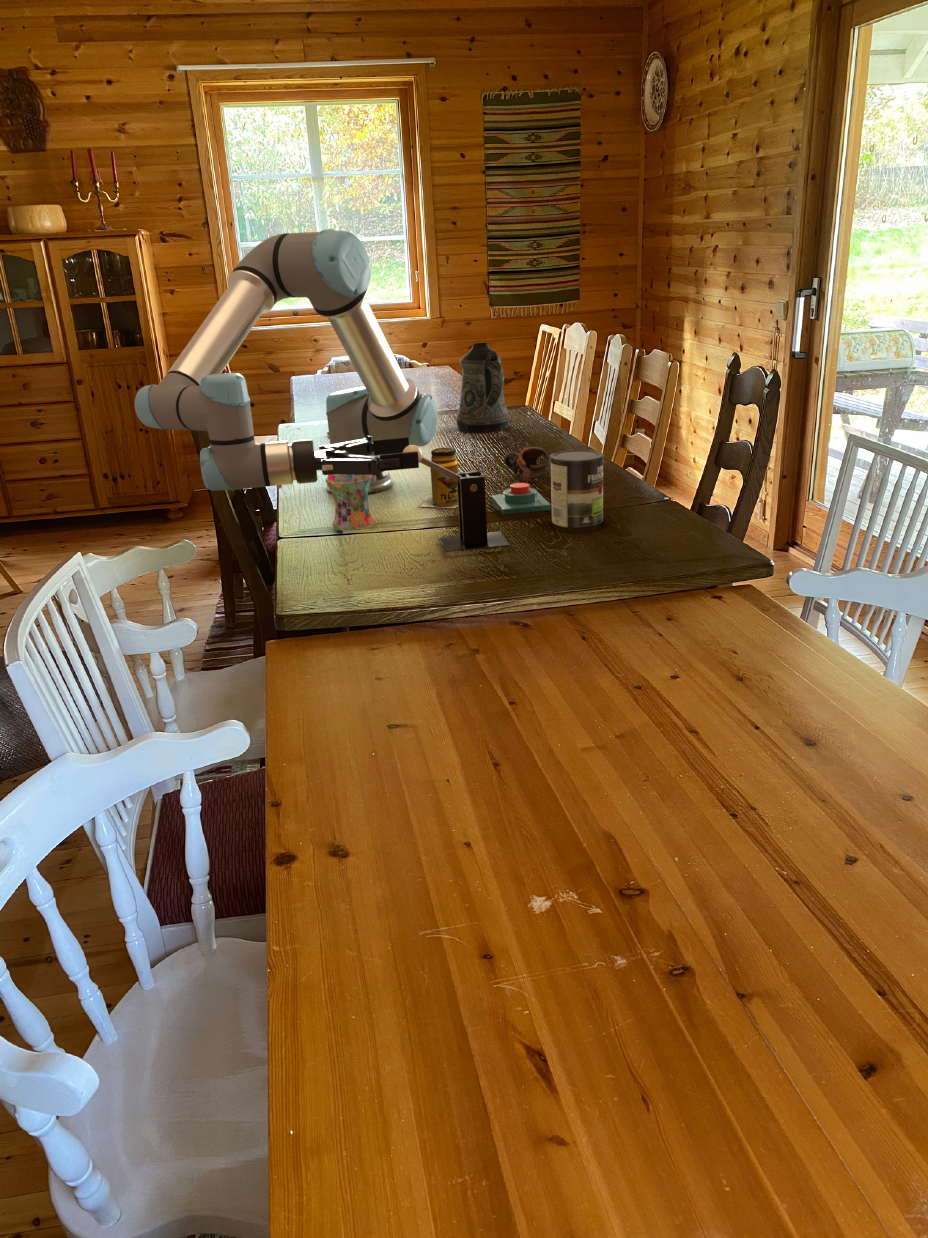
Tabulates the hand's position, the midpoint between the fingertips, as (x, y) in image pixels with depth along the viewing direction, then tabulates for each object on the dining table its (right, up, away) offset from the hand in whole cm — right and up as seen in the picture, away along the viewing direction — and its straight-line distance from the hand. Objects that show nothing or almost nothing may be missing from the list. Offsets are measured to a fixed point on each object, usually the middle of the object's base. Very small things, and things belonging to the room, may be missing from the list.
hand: (413, 451), depth 163 cm
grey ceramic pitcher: (+16, +29, +118) cm, 123 cm away
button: (+21, -3, +29) cm, 36 cm away
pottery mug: (+24, +4, +56) cm, 61 cm away
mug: (-14, -11, +26) cm, 31 cm away
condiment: (+4, -5, +39) cm, 39 cm away
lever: (+4, -4, +2) cm, 6 cm away
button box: (+21, -7, +30) cm, 38 cm away
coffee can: (+31, -11, +18) cm, 38 cm away
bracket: (+11, -16, +8) cm, 21 cm away
